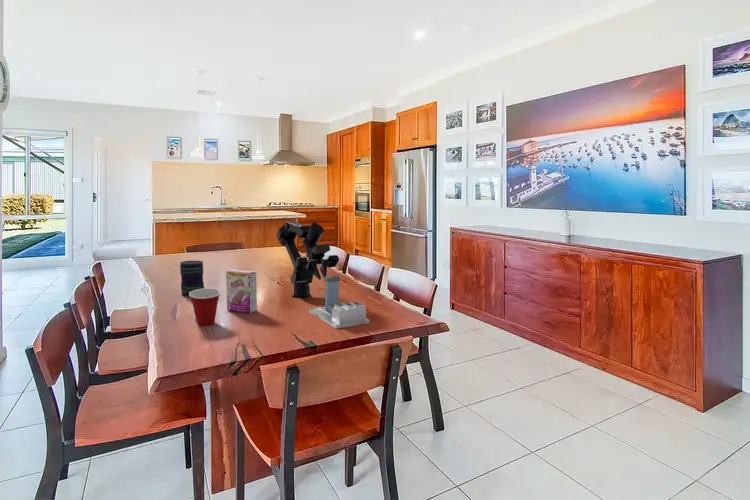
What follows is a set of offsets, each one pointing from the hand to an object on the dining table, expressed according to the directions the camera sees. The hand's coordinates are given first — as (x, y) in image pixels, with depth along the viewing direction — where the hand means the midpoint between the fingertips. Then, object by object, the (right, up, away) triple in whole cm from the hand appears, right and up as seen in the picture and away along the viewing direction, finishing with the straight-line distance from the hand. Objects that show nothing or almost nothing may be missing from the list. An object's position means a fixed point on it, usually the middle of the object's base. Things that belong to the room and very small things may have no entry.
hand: (323, 278), depth 180 cm
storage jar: (-63, -9, +22) cm, 67 cm away
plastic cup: (-40, -15, -21) cm, 48 cm away
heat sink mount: (+7, -14, -10) cm, 19 cm away
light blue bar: (+5, -12, -8) cm, 16 cm away
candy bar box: (-32, -13, -4) cm, 35 cm away
